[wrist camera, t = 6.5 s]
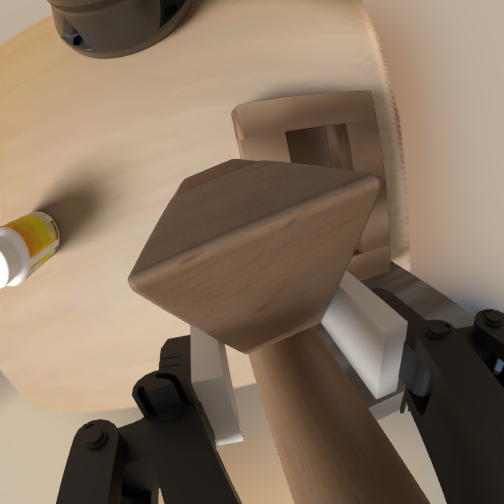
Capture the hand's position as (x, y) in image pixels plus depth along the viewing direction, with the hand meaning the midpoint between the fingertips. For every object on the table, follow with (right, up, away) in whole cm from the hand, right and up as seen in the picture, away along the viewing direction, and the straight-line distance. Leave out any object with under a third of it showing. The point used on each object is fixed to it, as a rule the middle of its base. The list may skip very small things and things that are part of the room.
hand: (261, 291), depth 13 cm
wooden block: (-1, +2, +6) cm, 6 cm away
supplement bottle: (-24, +4, +15) cm, 28 cm away
